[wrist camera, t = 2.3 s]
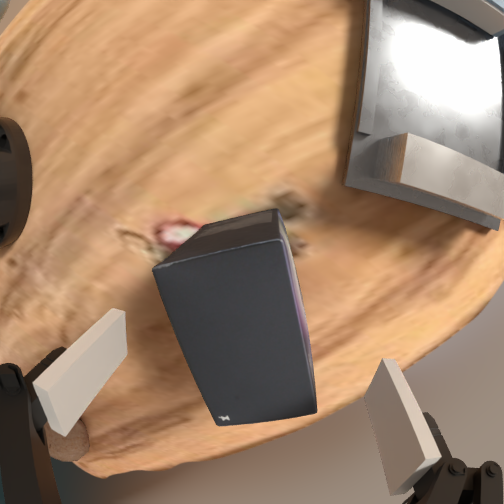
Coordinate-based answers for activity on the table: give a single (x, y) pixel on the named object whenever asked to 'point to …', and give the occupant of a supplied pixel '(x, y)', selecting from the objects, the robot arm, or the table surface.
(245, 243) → the small box
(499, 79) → the vise
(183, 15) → the table surface
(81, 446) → the stone
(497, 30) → the sliding jaw
